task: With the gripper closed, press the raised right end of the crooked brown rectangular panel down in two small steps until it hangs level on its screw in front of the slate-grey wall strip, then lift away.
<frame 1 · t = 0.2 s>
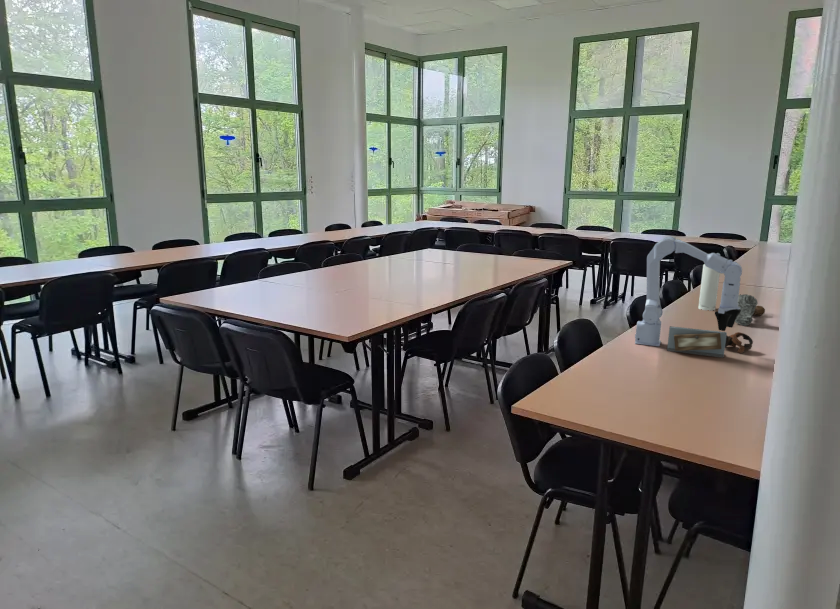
hand: (725, 328, 220), 10 cm above the table, fingers open, 7 cm apart
bottle: (706, 309, 298), on the table
pottery mug: (733, 350, 227), on the table
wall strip: (694, 353, 223), on the table
brown rectangular panel: (697, 341, 219), point 6 cm above the table, hinge at 10.0°
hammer: (748, 320, 275), on the table
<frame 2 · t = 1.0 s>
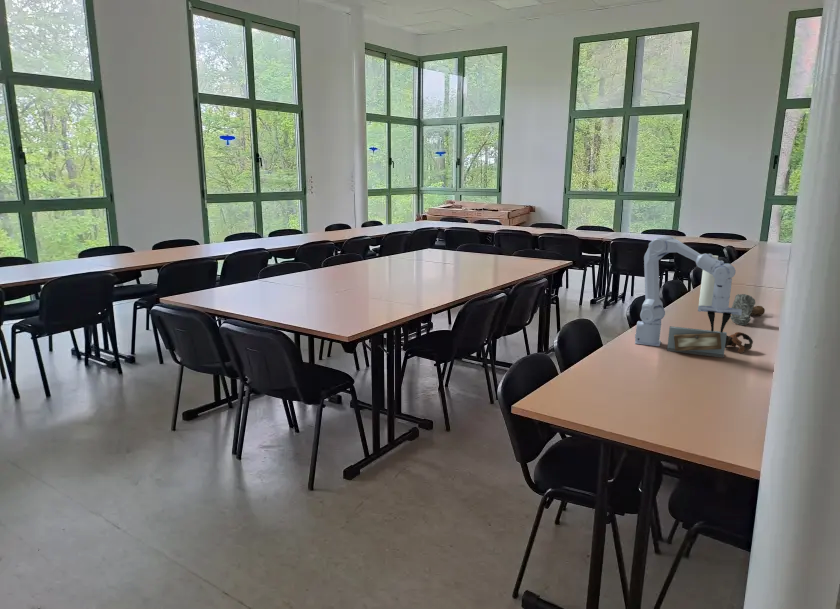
hand: (716, 331, 215), 10 cm above the table, fingers closed
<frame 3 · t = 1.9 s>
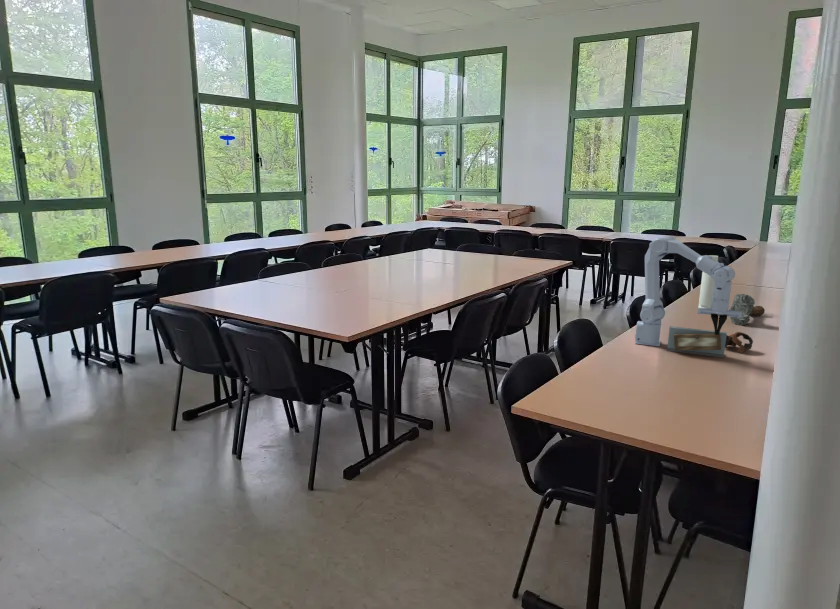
hand: (716, 334, 215), 9 cm above the table, fingers closed, pressing on brown rectangular panel
brown rectangular panel: (697, 341, 219), point 6 cm above the table, hinge at 8.4°, touching gripper
everything else where it was.
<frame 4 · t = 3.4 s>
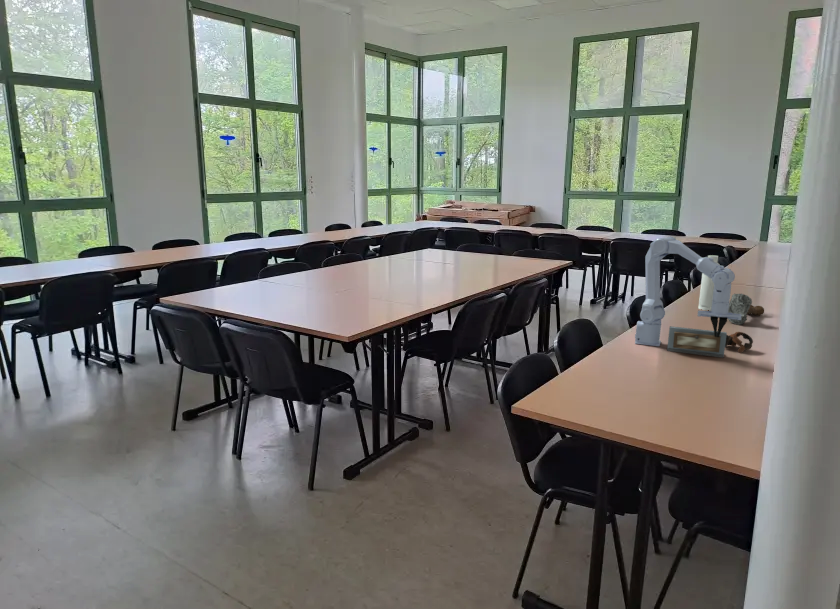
hand: (716, 336, 215), 9 cm above the table, fingers closed, pressing on brown rectangular panel
brown rectangular panel: (696, 341, 219), point 6 cm above the table, hinge at 0.9°, touching gripper
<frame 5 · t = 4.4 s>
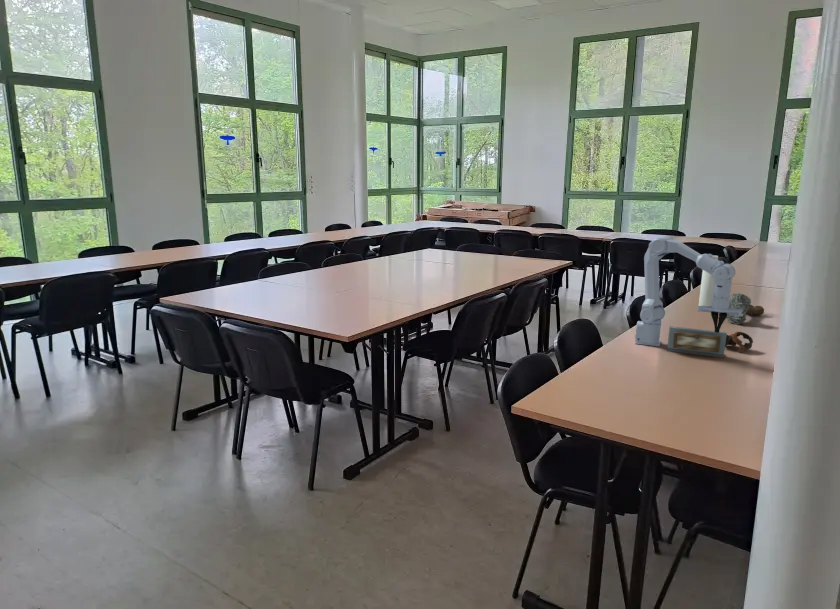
hand: (716, 331, 215), 10 cm above the table, fingers closed
brown rectangular panel: (696, 341, 219), point 6 cm above the table, hinge at 0.8°
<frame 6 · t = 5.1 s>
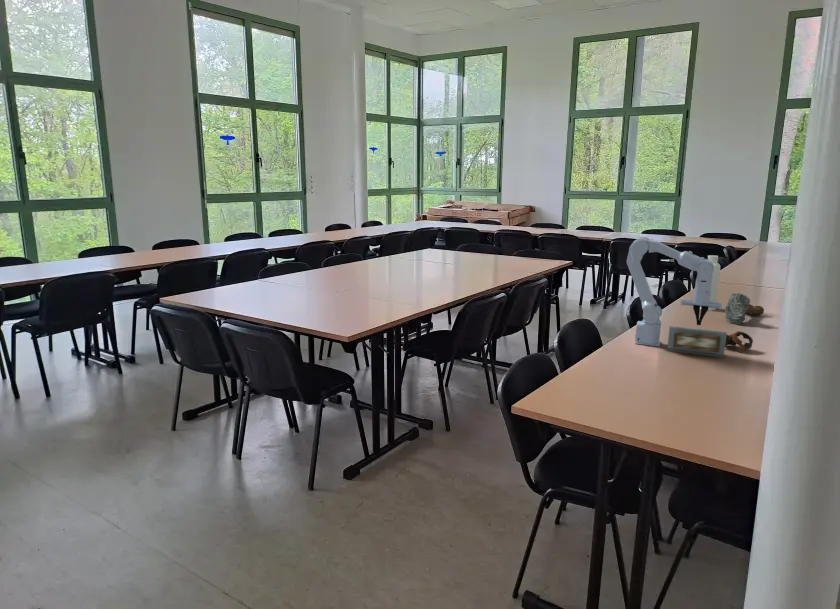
hand: (698, 324, 225), 10 cm above the table, fingers closed
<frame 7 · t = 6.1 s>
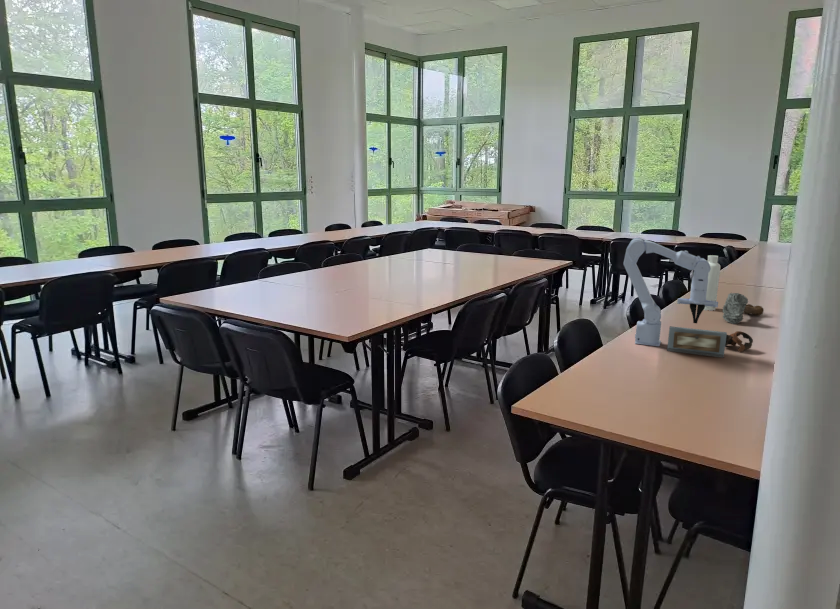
hand: (695, 322, 228), 10 cm above the table, fingers closed
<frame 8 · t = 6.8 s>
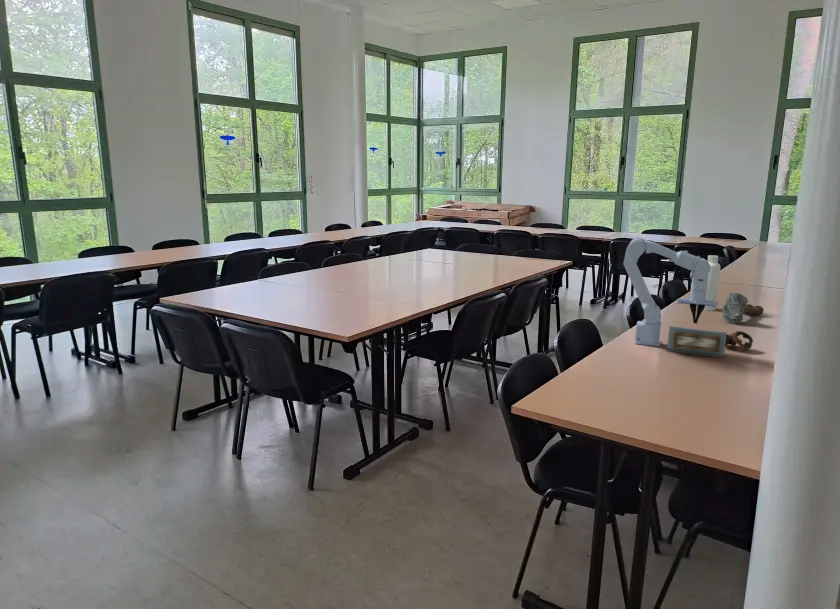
hand: (695, 322, 228), 10 cm above the table, fingers closed
at the end: brown rectangular panel at +1° (first picture: +10°) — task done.
